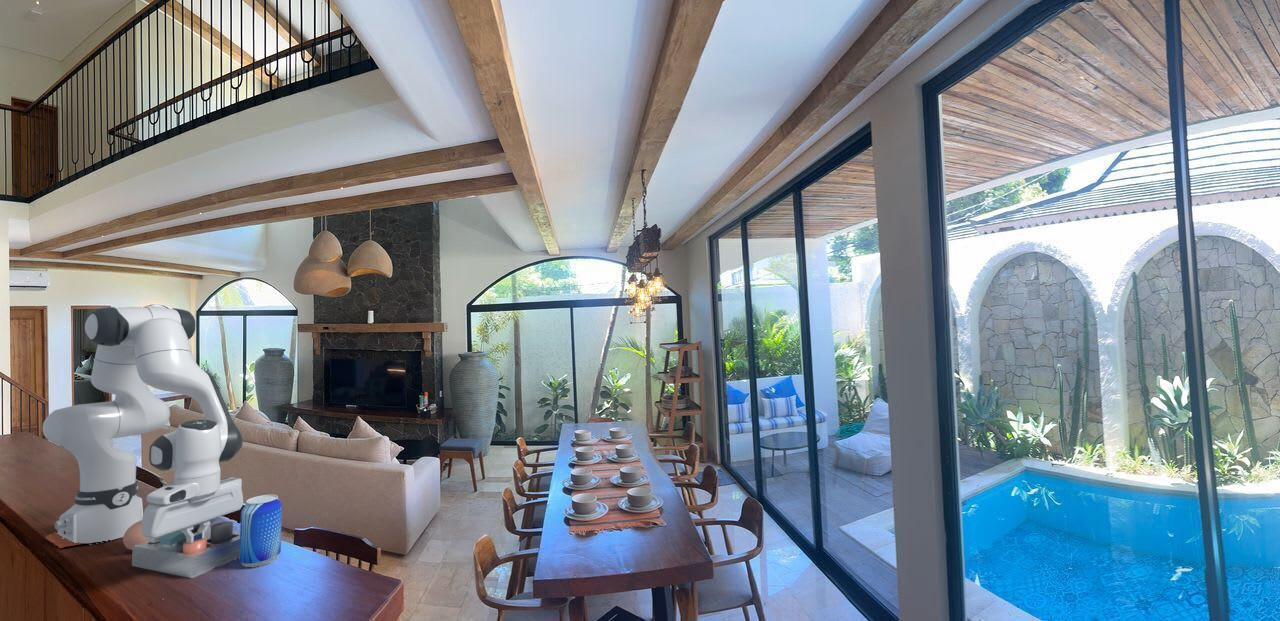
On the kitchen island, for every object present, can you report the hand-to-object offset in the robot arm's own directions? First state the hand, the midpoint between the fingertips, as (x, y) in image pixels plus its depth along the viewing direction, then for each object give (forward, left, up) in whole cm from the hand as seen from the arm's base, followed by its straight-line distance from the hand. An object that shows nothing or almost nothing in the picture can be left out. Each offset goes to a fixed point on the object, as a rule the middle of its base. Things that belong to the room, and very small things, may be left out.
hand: (195, 541), depth 121 cm
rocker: (-8, +4, +1) cm, 9 cm away
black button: (0, +6, -4) cm, 7 cm away
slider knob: (-15, 0, -2) cm, 15 cm away
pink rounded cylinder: (0, 0, -6) cm, 6 cm away
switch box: (-6, +4, -7) cm, 10 cm away
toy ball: (-26, +4, -7) cm, 27 cm away
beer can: (+12, +8, -7) cm, 16 cm away
